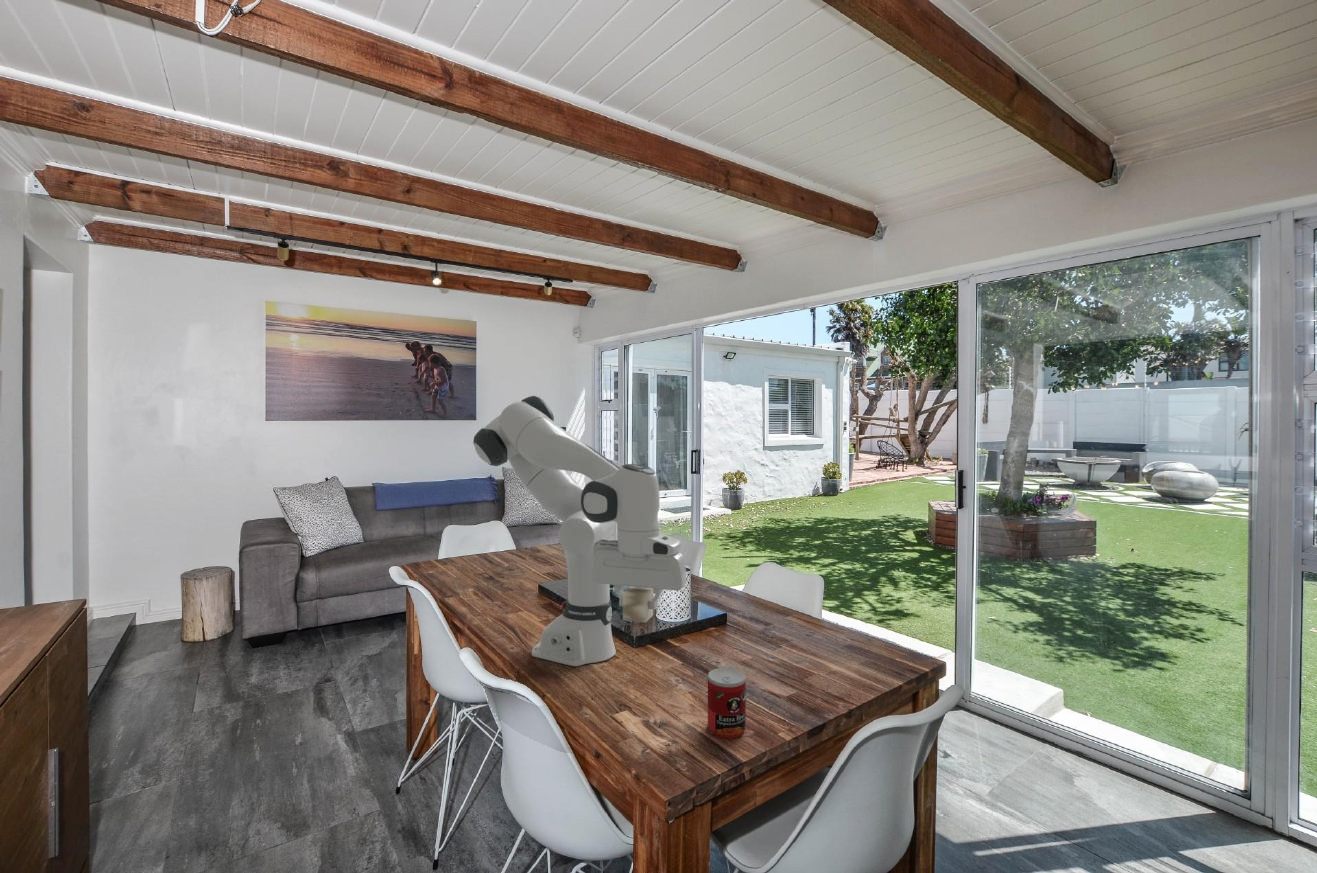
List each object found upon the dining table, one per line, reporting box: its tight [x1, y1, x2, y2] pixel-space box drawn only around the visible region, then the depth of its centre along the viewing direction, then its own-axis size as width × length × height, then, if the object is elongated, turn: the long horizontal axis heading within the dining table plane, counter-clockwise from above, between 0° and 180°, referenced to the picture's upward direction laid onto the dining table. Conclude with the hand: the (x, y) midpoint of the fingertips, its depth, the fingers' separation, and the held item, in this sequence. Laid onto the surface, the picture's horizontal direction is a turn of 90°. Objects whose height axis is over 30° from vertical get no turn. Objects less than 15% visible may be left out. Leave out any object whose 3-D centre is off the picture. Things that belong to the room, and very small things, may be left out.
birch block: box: [622, 586, 654, 623], centre depth 125 cm, size 5×5×6 cm
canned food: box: [707, 667, 747, 740], centre depth 120 cm, size 8×8×11 cm
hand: (638, 607), depth 125 cm, fingers closed on birch block, 5 cm apart
